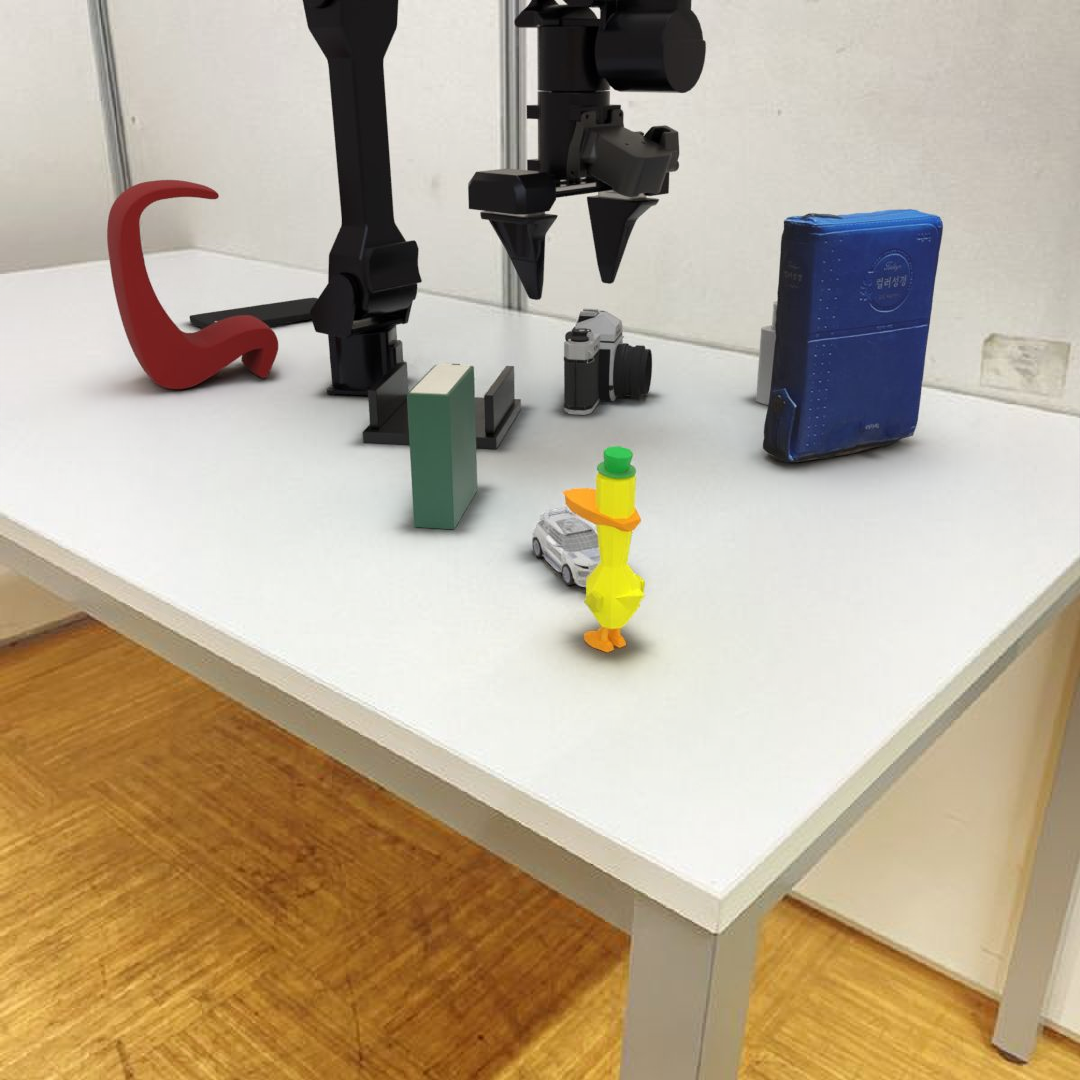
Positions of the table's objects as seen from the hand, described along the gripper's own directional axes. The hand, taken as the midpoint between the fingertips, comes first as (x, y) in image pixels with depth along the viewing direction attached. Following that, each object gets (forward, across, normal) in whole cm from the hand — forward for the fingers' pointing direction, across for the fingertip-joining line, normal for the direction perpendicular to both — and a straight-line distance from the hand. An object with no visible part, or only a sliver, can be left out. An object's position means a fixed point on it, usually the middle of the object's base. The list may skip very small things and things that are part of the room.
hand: (572, 290), depth 95 cm
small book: (+13, -19, -4) cm, 23 cm away
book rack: (+13, -5, +11) cm, 18 cm away
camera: (+13, +12, +6) cm, 19 cm away
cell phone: (+13, +10, +61) cm, 63 cm away
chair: (+13, -11, +42) cm, 45 cm away
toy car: (+13, -20, -18) cm, 30 cm away
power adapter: (+13, +23, -7) cm, 28 cm away
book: (+13, +13, -19) cm, 27 cm away
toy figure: (+13, -27, -26) cm, 40 cm away
